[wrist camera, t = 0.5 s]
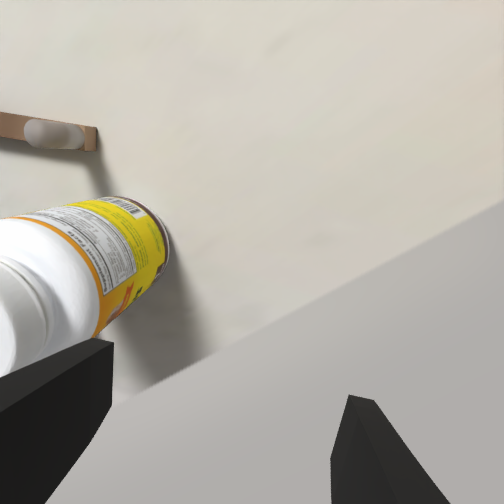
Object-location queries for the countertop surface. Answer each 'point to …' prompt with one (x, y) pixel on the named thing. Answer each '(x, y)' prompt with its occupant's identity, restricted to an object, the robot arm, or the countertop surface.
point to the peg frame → (47, 132)
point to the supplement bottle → (73, 273)
